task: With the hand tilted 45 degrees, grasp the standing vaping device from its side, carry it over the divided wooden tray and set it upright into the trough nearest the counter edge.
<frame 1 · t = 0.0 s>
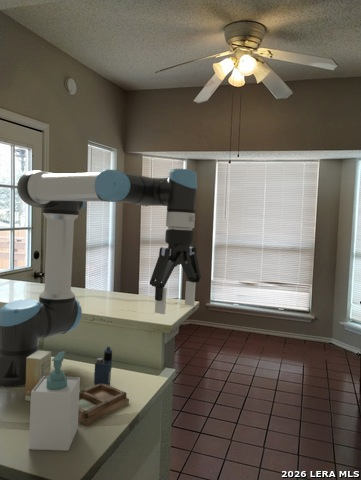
hand: (175, 309, 100), 28 cm above the worktop, tool pointing down, fingers open, 13 cm apart
divided wooden tray: (93, 406, 102), on the worktop
vaping device: (102, 386, 115), on the worktop
skincare box: (37, 397, 105), on the worktop
soap bottle: (54, 439, 86), on the worktop
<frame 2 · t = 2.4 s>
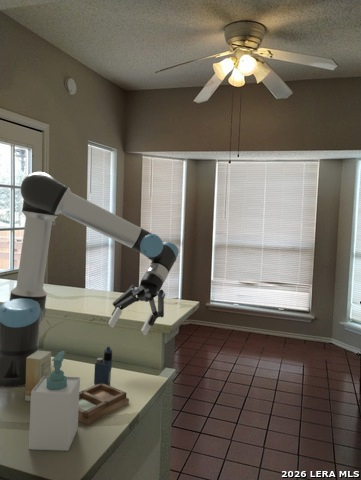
hand: (126, 329, 123), 15 cm above the worktop, tool tilted 45°, fingers open, 13 cm apart
nothing on the worktop moved.
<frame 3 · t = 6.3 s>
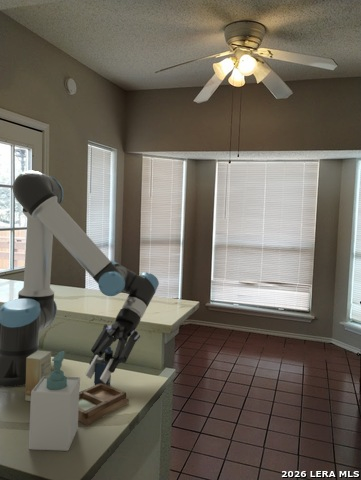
hand: (95, 378, 111), 3 cm above the worktop, tool tilted 45°, fingers closed on vaping device, 5 cm apart
vaping device: (102, 385, 115), on the worktop, touching gripper
everything else where it was.
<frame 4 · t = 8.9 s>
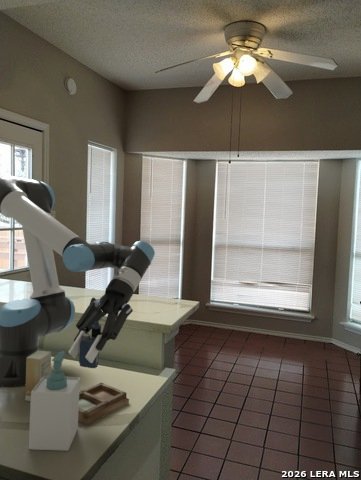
hand: (80, 357, 95), 15 cm above the worktop, tool tilted 45°, fingers closed on vaping device, 5 cm apart
vaping device: (88, 366, 99), point 12 cm above the worktop, touching gripper
everything else where it was.
when the fingers open (6 cm above the worktop, at t = 11.4 s): vaping device drops 1 cm, resting on divided wooden tray.
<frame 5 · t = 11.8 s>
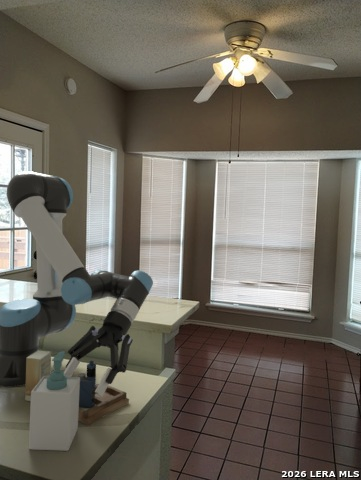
hand: (80, 388, 96), 7 cm above the worktop, tool tilted 45°, fingers open, 11 cm apart
vaping device: (85, 406, 99), point 1 cm above the worktop, touching divided wooden tray
everything else where it was.
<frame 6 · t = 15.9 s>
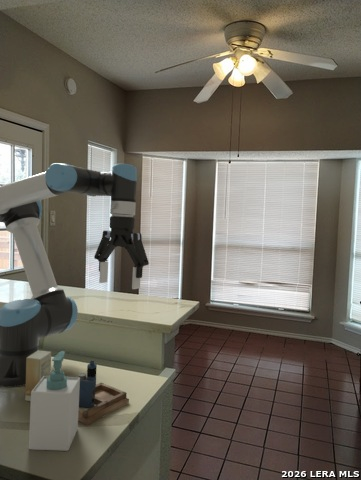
hand: (119, 285, 115), 31 cm above the worktop, tool pointing down, fingers open, 13 cm apart
nothing on the worktop moved.
at the end: vaping device inside the target area on the divided wooden tray (0.4 cm from its centre), point 1.1 cm above the divided wooden tray's base; vaping device tilted 0°; the gripper is holding nothing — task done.
